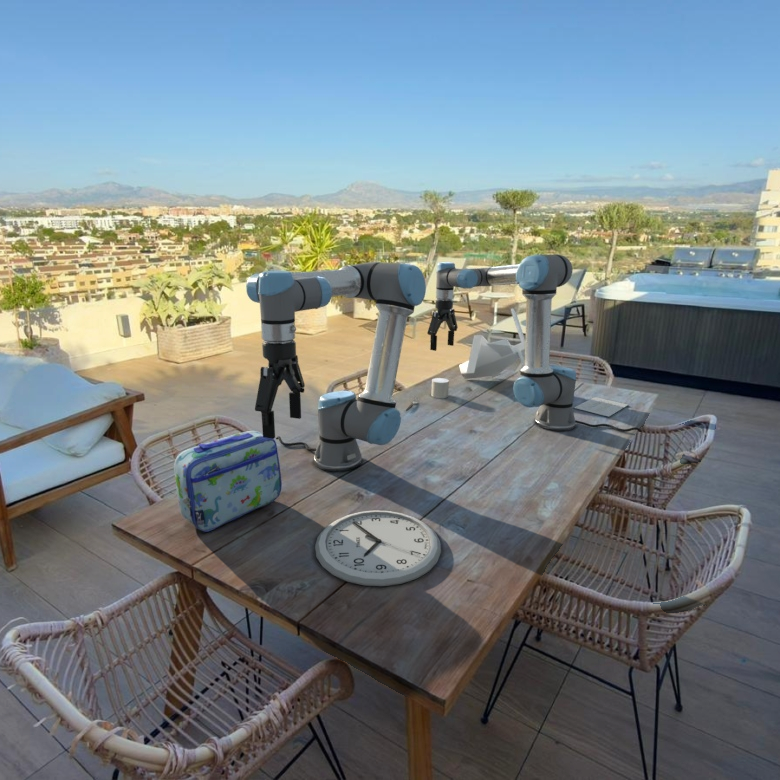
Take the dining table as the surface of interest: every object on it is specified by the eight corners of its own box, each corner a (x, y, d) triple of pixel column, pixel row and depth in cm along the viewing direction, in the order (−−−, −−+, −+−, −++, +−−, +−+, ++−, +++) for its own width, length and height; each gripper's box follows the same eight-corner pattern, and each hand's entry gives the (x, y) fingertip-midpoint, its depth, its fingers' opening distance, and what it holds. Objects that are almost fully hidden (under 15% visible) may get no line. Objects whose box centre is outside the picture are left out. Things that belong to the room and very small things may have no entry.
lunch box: (194, 540, 125) (185, 461, 119) (175, 522, 133) (166, 447, 126) (286, 503, 143) (282, 432, 137) (265, 489, 150) (261, 421, 144)
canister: (450, 398, 235) (450, 382, 232) (433, 398, 233) (434, 382, 231) (445, 392, 242) (446, 377, 240) (429, 393, 241) (430, 378, 238)
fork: (403, 411, 216) (403, 406, 215) (414, 400, 230) (414, 395, 230) (409, 412, 215) (409, 407, 215) (420, 400, 229) (420, 396, 229)
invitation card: (608, 416, 214) (573, 407, 224) (608, 416, 214) (573, 408, 224) (628, 404, 229) (594, 396, 238) (628, 405, 229) (594, 397, 238)
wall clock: (452, 576, 112) (311, 582, 109) (452, 583, 112) (311, 589, 109) (430, 505, 140) (317, 508, 138) (430, 510, 141) (318, 514, 138)
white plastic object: (480, 421, 262) (459, 398, 238) (462, 347, 285) (440, 320, 260) (552, 397, 250) (537, 370, 226) (527, 322, 272) (511, 290, 248)
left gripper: (266, 353, 107) (271, 449, 113) (316, 331, 130) (318, 412, 136) (234, 350, 109) (241, 444, 115) (289, 329, 132) (292, 409, 138)
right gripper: (452, 295, 236) (450, 342, 242) (420, 301, 217) (418, 351, 224) (467, 297, 232) (464, 344, 238) (435, 303, 213) (433, 353, 219)
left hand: (283, 427), depth 126 cm, fingers open, 13 cm apart
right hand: (442, 347), depth 231 cm, fingers open, 13 cm apart
